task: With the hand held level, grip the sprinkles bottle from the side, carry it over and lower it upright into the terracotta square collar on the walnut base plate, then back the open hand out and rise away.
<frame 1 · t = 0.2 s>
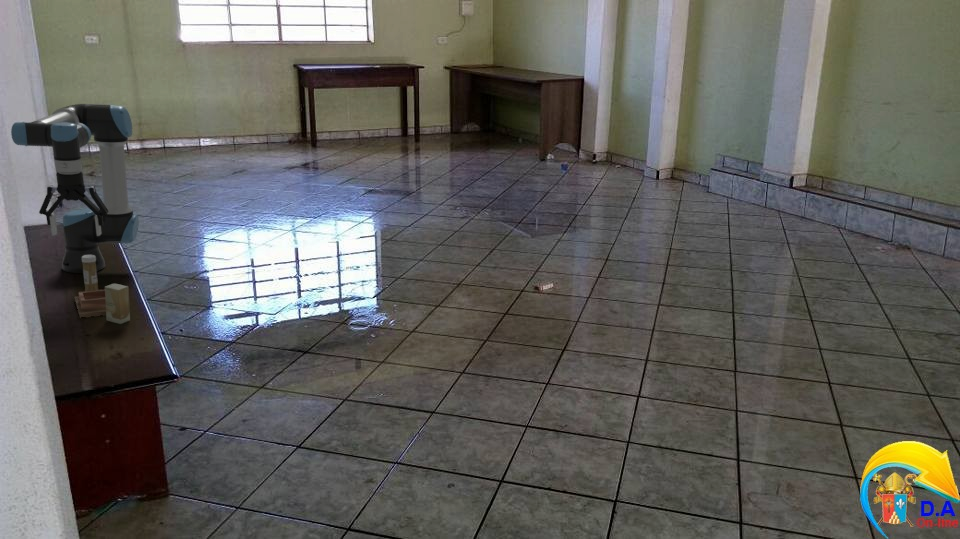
hand: (77, 234, 246), 27 cm above the table, tool pointing down, fingers open, 13 cm apart
collar plate: (96, 307, 258), on the table
sprinkles bottle: (91, 291, 272), on the table
skincare box: (118, 321, 248), on the table
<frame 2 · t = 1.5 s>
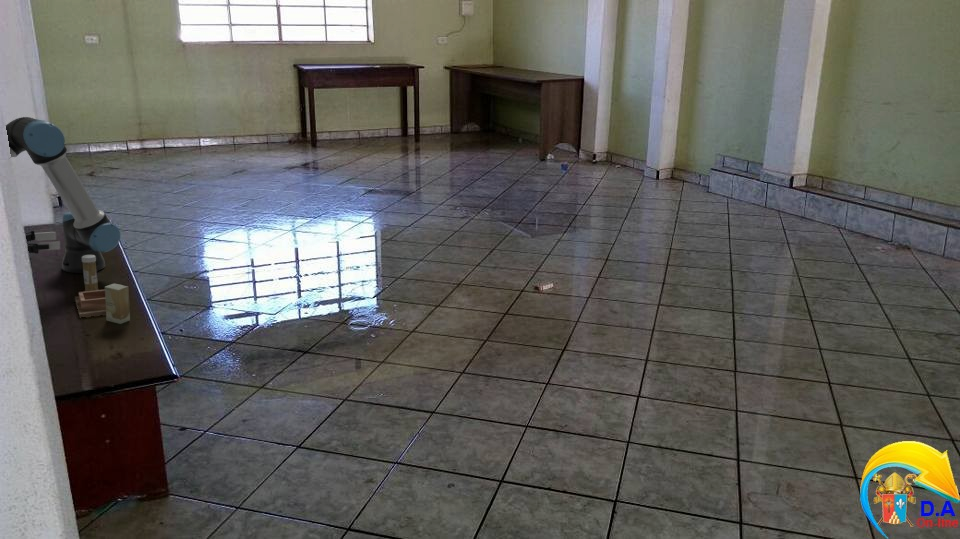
hand: (58, 240, 261), 20 cm above the table, tool horizontal, fingers open, 13 cm apart
nothing on the table moved.
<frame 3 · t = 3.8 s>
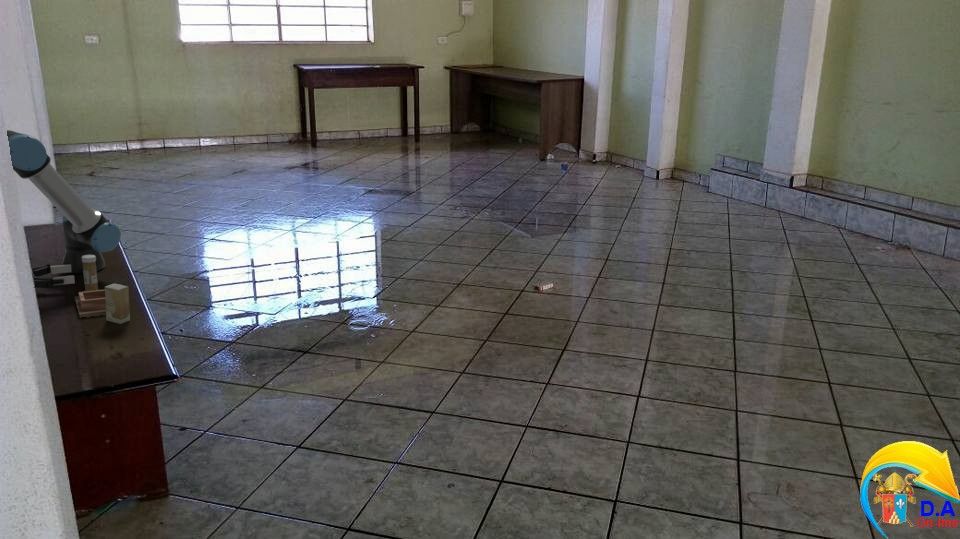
hand: (72, 273, 267), 7 cm above the table, tool horizontal, fingers open, 13 cm apart
nothing on the table moved.
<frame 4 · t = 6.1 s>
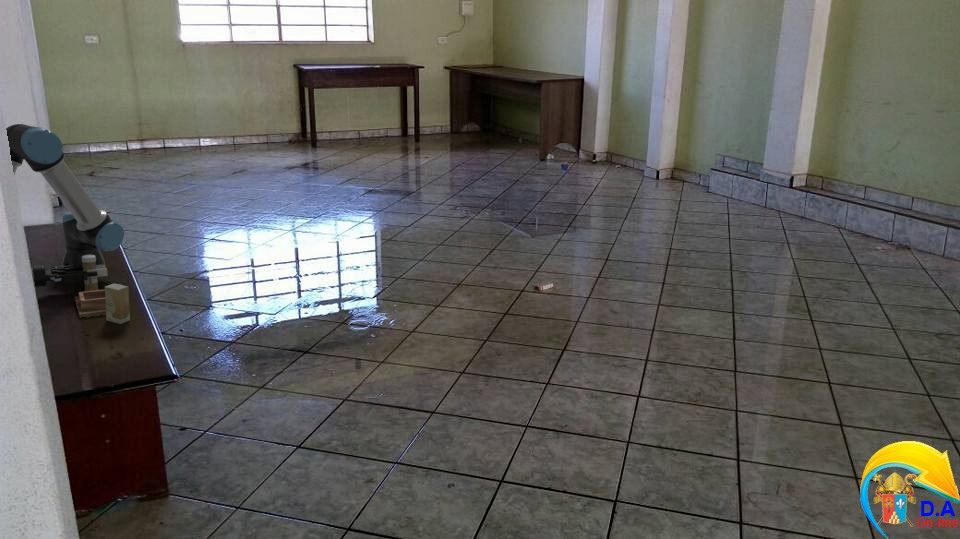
hand: (106, 270, 273), 8 cm above the table, tool horizontal, fingers closed on sprinkles bottle, 4 cm apart
sprinkles bottle: (91, 291, 272), on the table, touching gripper
everything else where it was.
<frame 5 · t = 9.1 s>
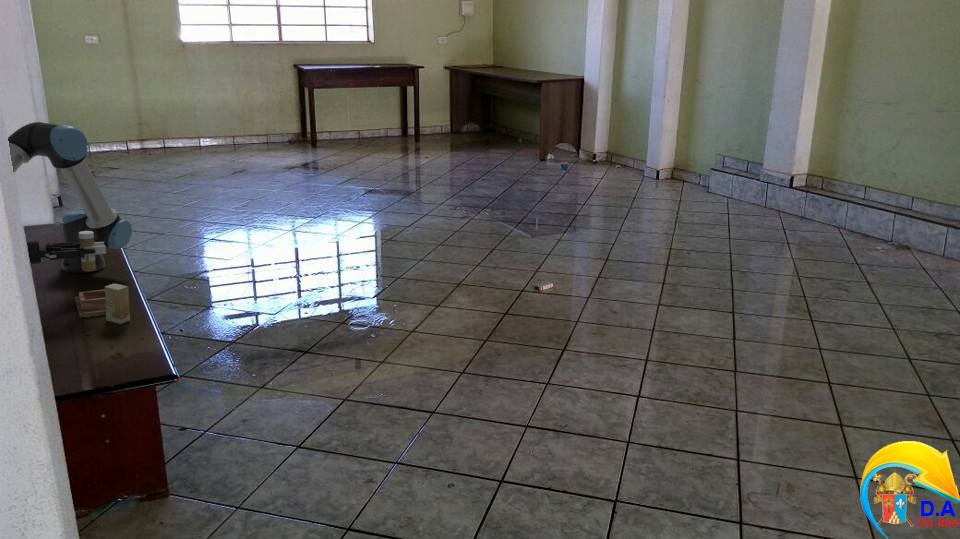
hand: (104, 247, 256), 20 cm above the table, tool horizontal, fingers closed on sprinkles bottle, 4 cm apart
sprinkles bottle: (89, 270, 256), point 13 cm above the table, touching gripper
everything else where it was.
when the fingers open (10 cm above the table, at t = 12.1 s): sprinkles bottle stays where it is, resting on collar plate.
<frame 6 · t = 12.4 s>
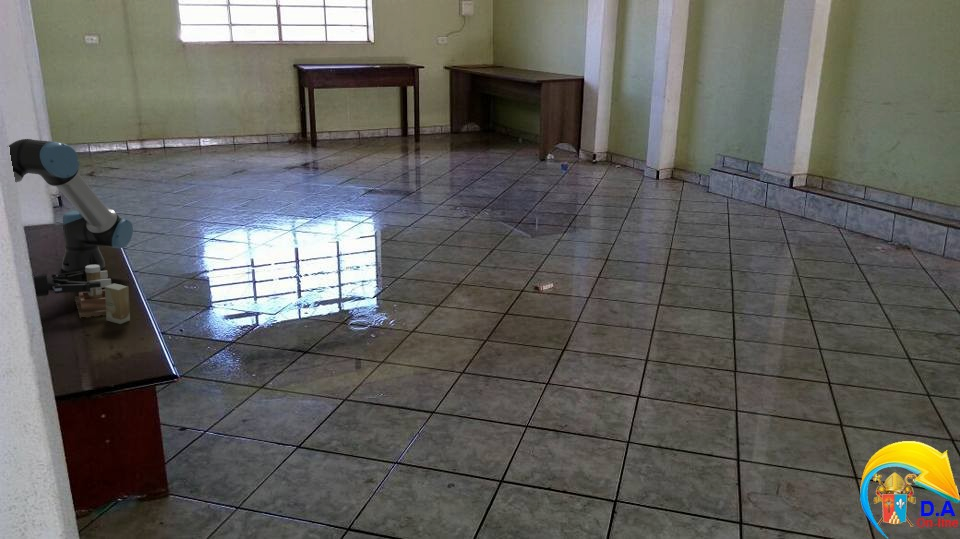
hand: (109, 278, 257), 10 cm above the table, tool horizontal, fingers open, 9 cm apart
sprinkles bottle: (96, 303, 257), point 1 cm above the table, touching collar plate
everything else where it was.
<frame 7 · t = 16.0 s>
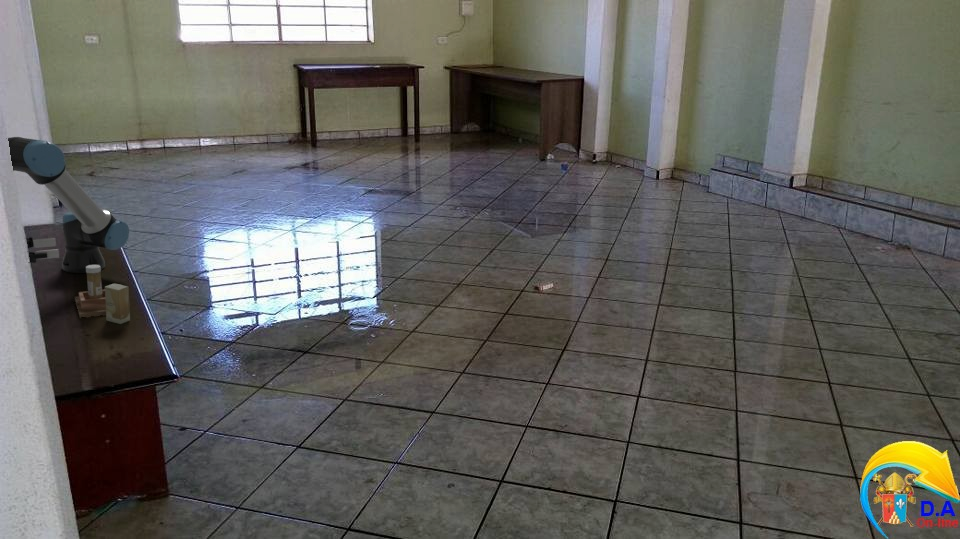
hand: (57, 247, 246), 23 cm above the table, tool horizontal, fingers open, 13 cm apart
nothing on the table moved.
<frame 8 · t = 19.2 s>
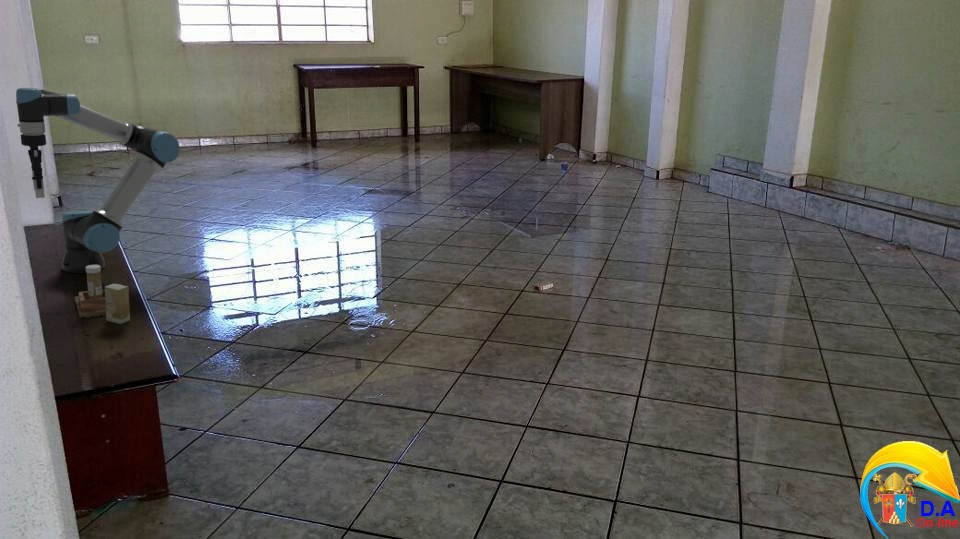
hand: (39, 193, 264), 35 cm above the table, tool pointing down, fingers open, 13 cm apart
nothing on the table moved.
at the end: sprinkles bottle 0.1 cm off-centre on the collar plate, point 1.3 cm above the collar plate's base; sprinkles bottle tilted 0°; the gripper is holding nothing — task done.
